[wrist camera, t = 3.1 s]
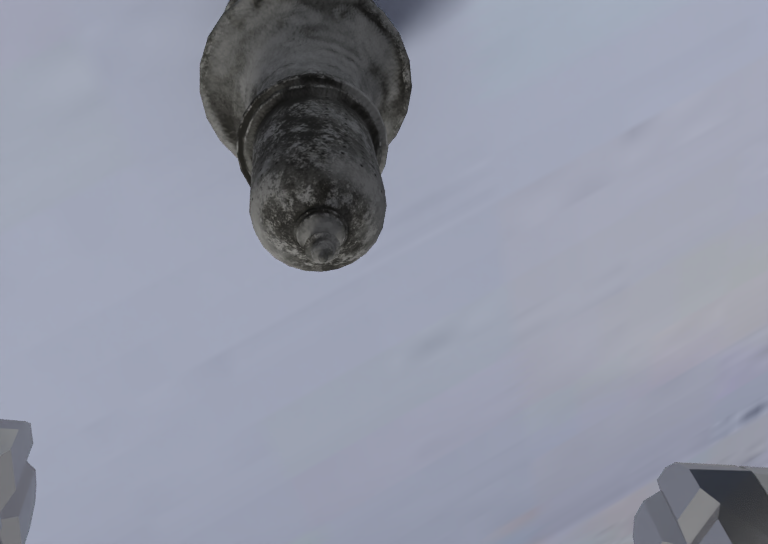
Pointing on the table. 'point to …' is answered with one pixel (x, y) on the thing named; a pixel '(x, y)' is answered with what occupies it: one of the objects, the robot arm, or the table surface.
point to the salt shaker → (308, 119)
